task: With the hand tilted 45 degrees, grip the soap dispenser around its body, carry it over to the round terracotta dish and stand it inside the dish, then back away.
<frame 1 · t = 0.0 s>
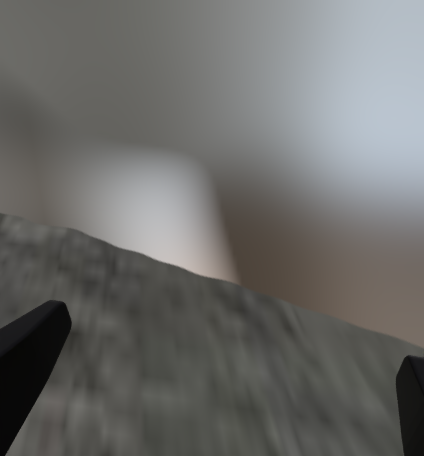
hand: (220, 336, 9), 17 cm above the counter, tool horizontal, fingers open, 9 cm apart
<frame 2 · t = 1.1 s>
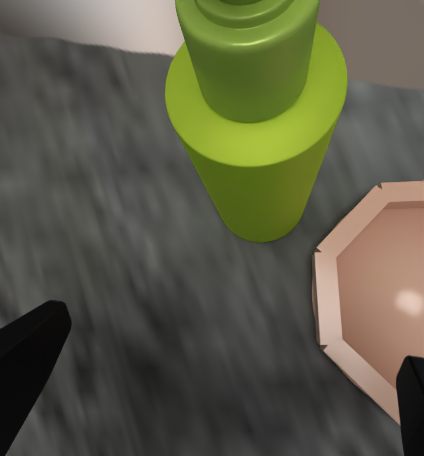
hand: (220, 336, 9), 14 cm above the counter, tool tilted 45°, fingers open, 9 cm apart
soap dispenser: (264, 194, 24), on the counter
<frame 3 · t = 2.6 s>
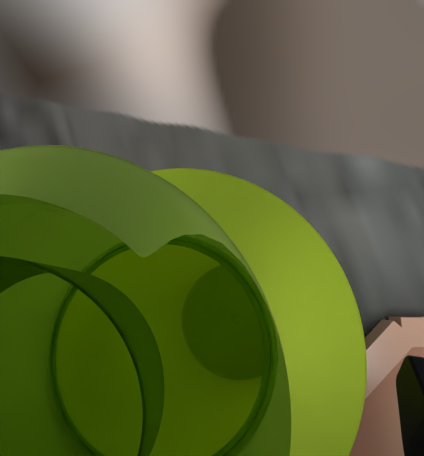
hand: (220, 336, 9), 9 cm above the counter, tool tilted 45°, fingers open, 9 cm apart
soap dispenser: (242, 310, 18), on the counter
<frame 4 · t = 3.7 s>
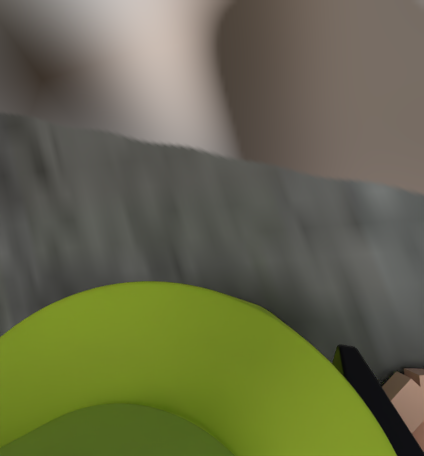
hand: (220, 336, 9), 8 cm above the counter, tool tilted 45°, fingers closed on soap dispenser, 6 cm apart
soap dispenser: (241, 354, 16), on the counter, touching gripper
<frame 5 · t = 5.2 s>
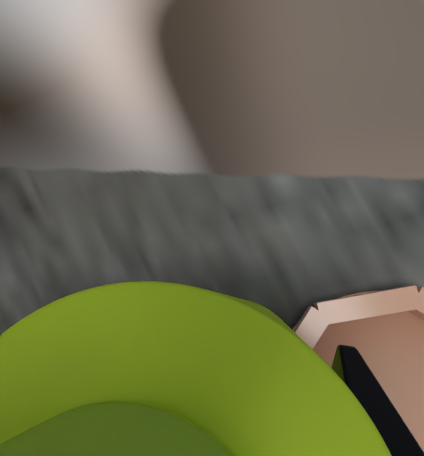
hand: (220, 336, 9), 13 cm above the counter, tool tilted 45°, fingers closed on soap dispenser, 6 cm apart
soap dispenser: (242, 353, 16), point 5 cm above the counter, touching gripper
dish: (389, 416, 19), on the counter
when the fingers open (9 cm above the counter, at t = 7.1 s): soap dispenser stays where it is, resting on dish.
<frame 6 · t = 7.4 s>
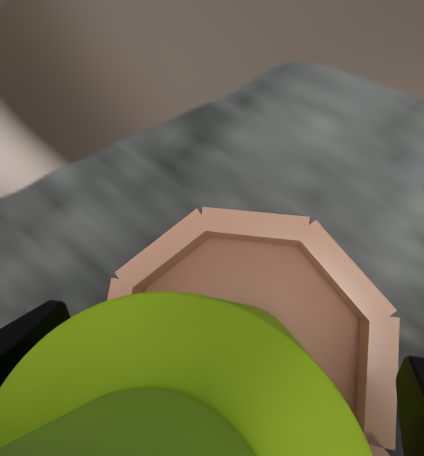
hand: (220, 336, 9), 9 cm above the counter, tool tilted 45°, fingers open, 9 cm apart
soap dispenser: (244, 355, 17), resting on dish
dish: (241, 349, 18), on the counter
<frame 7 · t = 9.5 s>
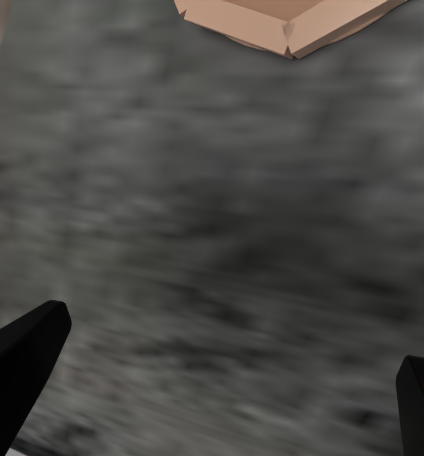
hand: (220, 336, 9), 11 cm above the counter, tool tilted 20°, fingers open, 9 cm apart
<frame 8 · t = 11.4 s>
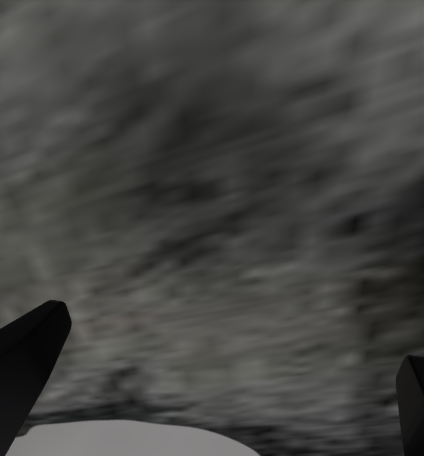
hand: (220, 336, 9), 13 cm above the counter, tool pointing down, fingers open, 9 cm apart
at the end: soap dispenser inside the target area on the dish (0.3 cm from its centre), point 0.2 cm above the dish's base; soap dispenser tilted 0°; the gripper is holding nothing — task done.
